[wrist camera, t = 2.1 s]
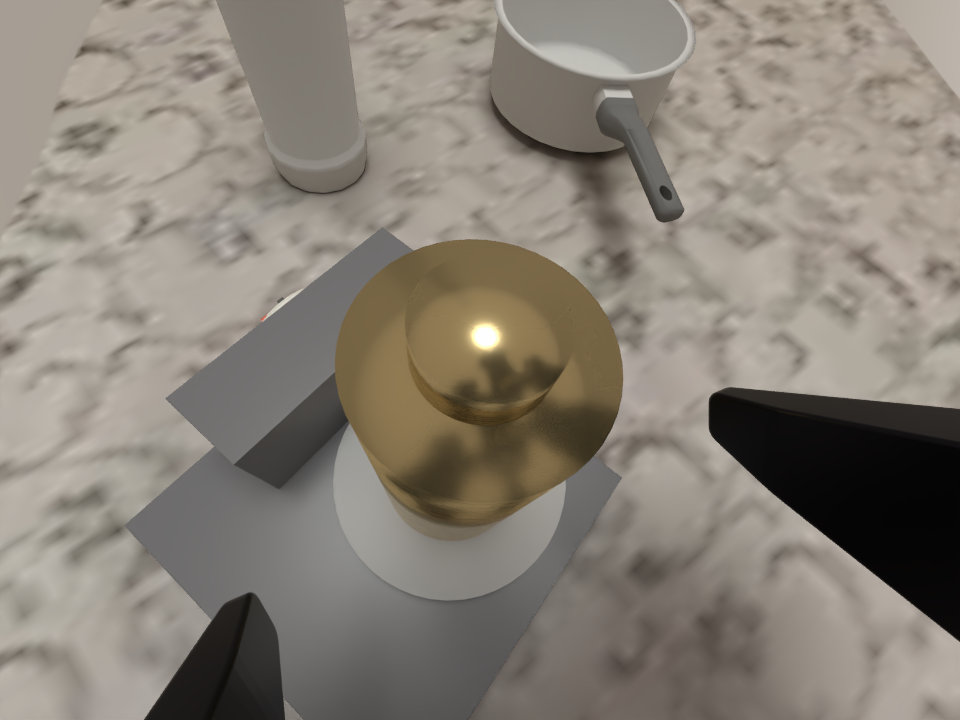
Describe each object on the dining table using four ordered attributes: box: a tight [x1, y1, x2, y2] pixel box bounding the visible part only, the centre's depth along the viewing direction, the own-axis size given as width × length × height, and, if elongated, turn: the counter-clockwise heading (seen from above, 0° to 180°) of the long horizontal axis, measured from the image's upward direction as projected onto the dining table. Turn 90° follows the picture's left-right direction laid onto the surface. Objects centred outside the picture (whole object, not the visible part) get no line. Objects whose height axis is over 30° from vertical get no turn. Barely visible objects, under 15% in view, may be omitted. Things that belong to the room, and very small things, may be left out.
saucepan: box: [490, 0, 696, 223], centre depth 25 cm, size 12×20×6 cm, turn 7°
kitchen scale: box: [125, 228, 621, 720], centre depth 15 cm, size 12×12×6 cm
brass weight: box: [335, 239, 623, 541], centre depth 11 cm, size 5×5×10 cm
